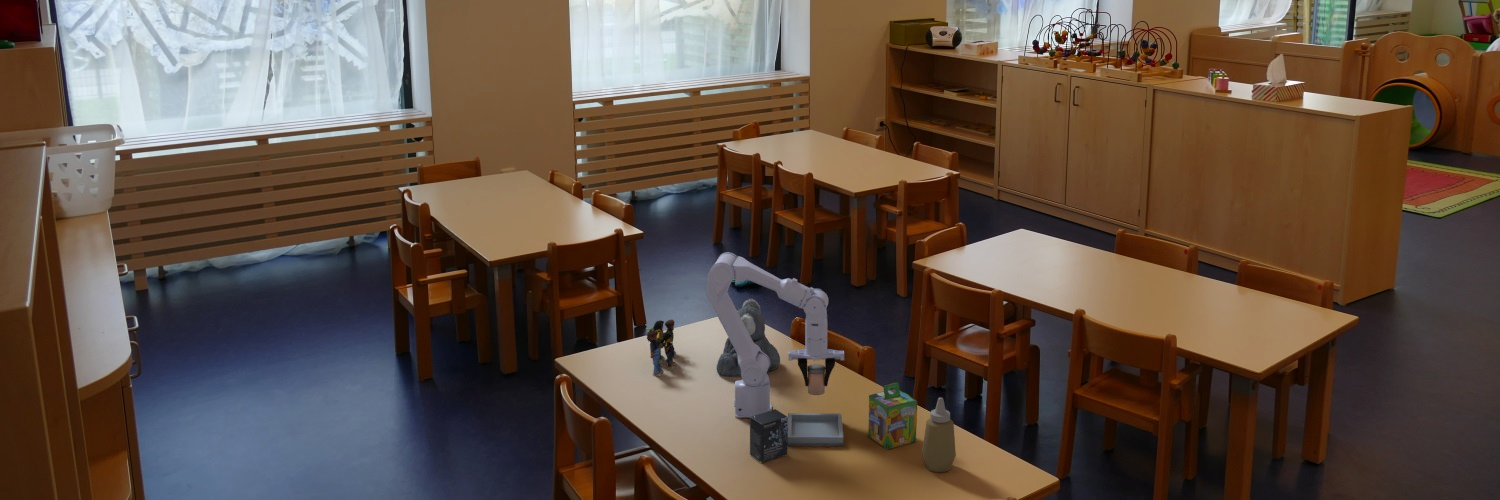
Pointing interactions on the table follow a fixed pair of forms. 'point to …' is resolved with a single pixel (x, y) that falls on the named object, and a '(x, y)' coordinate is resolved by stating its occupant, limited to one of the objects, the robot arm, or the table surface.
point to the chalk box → (892, 417)
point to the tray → (815, 429)
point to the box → (768, 435)
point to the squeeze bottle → (939, 440)
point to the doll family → (661, 345)
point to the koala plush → (756, 331)
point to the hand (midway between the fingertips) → (816, 384)
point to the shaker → (816, 379)
